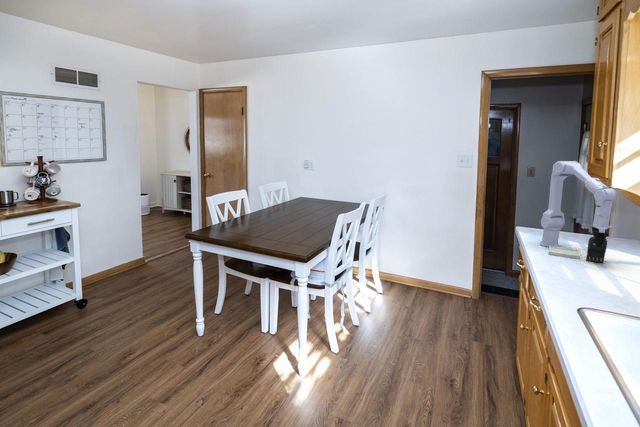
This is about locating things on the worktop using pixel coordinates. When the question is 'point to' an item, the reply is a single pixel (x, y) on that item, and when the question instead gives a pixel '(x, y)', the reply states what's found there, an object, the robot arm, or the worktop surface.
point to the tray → (564, 252)
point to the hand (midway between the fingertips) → (597, 245)
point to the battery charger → (596, 251)
